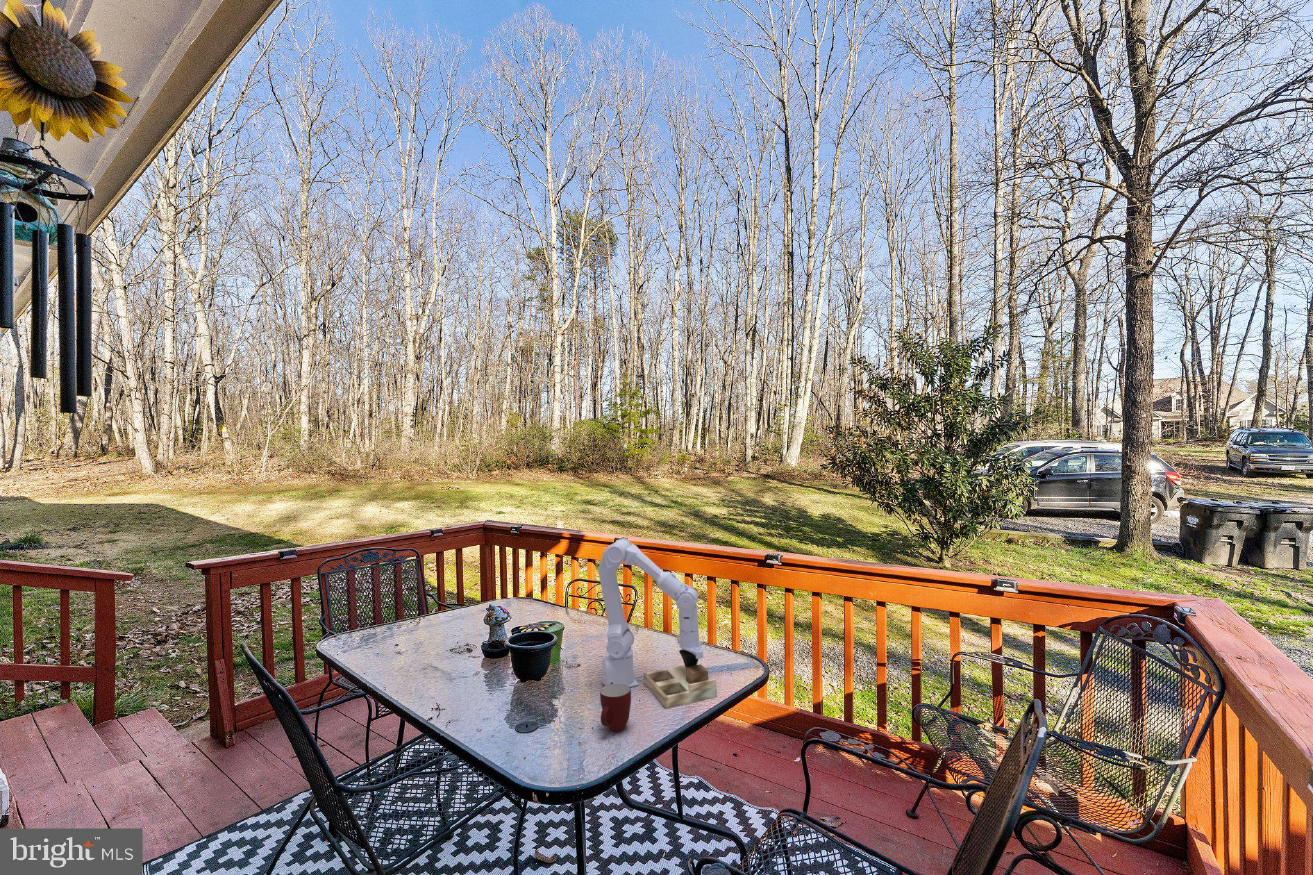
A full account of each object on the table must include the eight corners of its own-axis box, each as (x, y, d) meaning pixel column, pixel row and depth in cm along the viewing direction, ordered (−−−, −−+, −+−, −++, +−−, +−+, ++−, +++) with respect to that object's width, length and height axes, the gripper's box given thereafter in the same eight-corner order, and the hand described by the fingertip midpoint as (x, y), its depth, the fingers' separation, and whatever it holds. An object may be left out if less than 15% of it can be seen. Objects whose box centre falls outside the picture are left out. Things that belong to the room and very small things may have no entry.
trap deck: (665, 708, 158) (664, 690, 158) (644, 683, 175) (643, 667, 175) (716, 696, 164) (716, 679, 164) (691, 673, 180) (690, 657, 180)
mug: (620, 743, 141) (618, 703, 141) (592, 738, 144) (590, 699, 144) (637, 722, 151) (635, 685, 151) (610, 718, 154) (608, 681, 154)
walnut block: (693, 687, 164) (692, 673, 164) (686, 680, 168) (685, 667, 168) (708, 684, 165) (708, 670, 165) (701, 677, 170) (700, 664, 170)
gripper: (711, 634, 165) (713, 680, 165) (691, 620, 179) (693, 663, 179) (689, 638, 163) (691, 685, 163) (670, 623, 176) (672, 667, 176)
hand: (691, 674), depth 171 cm, fingers closed
